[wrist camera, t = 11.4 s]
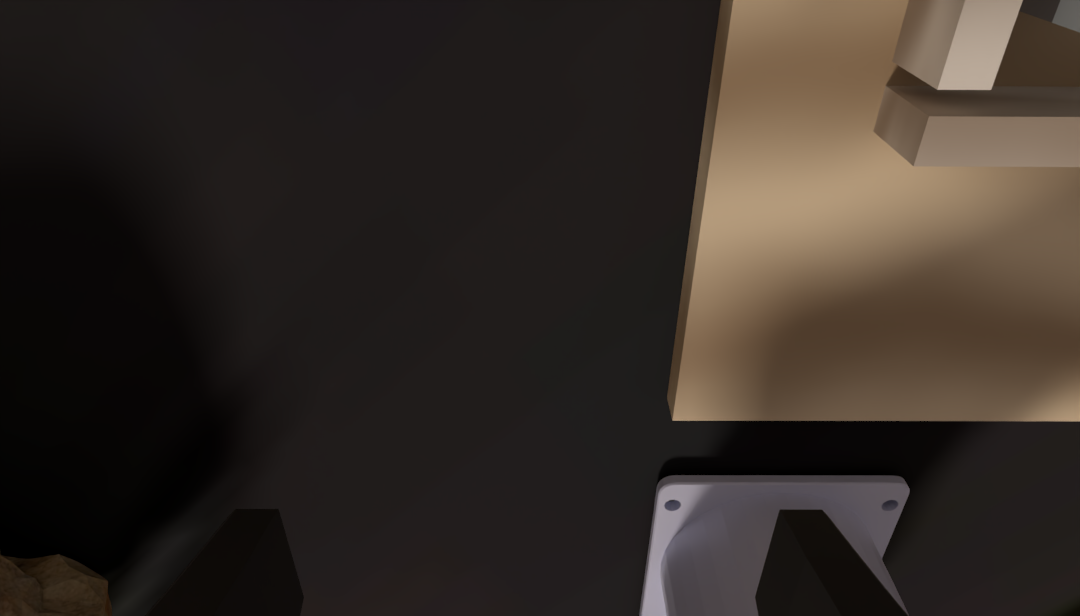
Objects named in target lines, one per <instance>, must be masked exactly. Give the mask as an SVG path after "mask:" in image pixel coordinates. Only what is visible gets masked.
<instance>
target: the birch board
mask: <svg viewBox="0 0 1080 616" xmlns="http://www.w3.org/2000/svg"><path fill="white" fill-rule="evenodd" d="M1022 1H1023V0H721V5H720V12H719V19H718V27H717V34H716V41H715V49H714V56H713V63H712V71H711V78H710V86H709V93H708V100H707V108H706V115H705V122H704V130H703V137H702V144H701V152H700V159H699V166H698V174H697V181H696V189H695V196H694V203H693V211H692V218H691V225H690V233H689V240H688V247H687V255H686V262H685V270H684V277H683V284H682V292H681V299H680V306H679V314H678V321H677V328H676V336H675V343H674V350H673V358H672V365H671V373H670V380H669V387H668V395H667V399H668V404H669V408H670V412H671V416H672V421H1080V32H1077V31H1074V30H1071V29H1068V28H1066V27H1063V26H1060V25H1057V24H1054V23H1051V22H1049V21H1046V20H1043V19H1040V18H1037V17H1034V16H1032V15H1029V14H1026V13H1023V12H1020V11H1019V10H1020V7H1021V4H1022Z"/></svg>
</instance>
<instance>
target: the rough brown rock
mask: <svg viewBox="0 0 1080 616" xmlns="http://www.w3.org/2000/svg"><path fill="white" fill-rule="evenodd" d="M0 616H112V606H111V603H110V599H109V596H108V581H107V580H106V579H105V578H104V577H102V576H101V575H99V574H97V573H96V572H94V571H93V570H91V569H89V568H88V567H86V566H85V565H83V564H81V563H79V562H77V561H75V560H73V559H70V558H68V557H65V556H62V555H60V554H56V555H50V556H44V557H39V558H33V559H24V558H15V557H9V556H3V555H1V551H0Z"/></svg>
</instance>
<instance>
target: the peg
mask: <svg viewBox="0 0 1080 616" xmlns="http://www.w3.org/2000/svg"><path fill="white" fill-rule="evenodd" d="M1019 11H1020V12H1023V13H1026V14H1029V15H1032V16H1034V17H1037V18H1040V19H1043V20H1046V21H1049V22H1051V23H1054V24H1057V25H1060V26H1063V27H1066V28H1068V29H1071V30H1074V31H1077V32H1080V0H1023V1H1022V4H1021V7H1020V10H1019Z"/></svg>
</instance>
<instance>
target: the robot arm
mask: <svg viewBox="0 0 1080 616" xmlns="http://www.w3.org/2000/svg"><path fill="white" fill-rule="evenodd" d="M909 492H910V489H909V487H908V485H907V483H906V482H905V480H904V479H903V478H902V477H900V476H894V475H672V476H667V477H665V478H663V479H662V480H660V481H659V483H658V485H657V489H656V497H655V504H654V511H653V518H652V526H651V533H650V540H649V547H648V555H647V562H646V569H645V576H644V584H643V591H642V598H641V605H640V613H639V616H909V615H908V613H907V610H906V608H905V606H904V604H903V602H902V600H901V598H900V596H899V594H898V592H897V590H896V588H895V585H894V583H893V581H892V579H891V577H890V575H889V573H888V571H887V569H886V567H885V565H884V563H883V561H882V557H883V555H884V553H885V550H886V548H887V545H888V543H889V541H890V538H891V536H892V534H893V531H894V529H895V526H896V524H897V522H898V519H899V517H900V515H901V512H902V510H903V507H904V505H905V503H906V500H907V498H908V496H909ZM669 500H674V501H669ZM303 598H304V596H303V593H302V589H301V586H300V583H299V579H298V576H297V572H296V569H295V565H294V562H293V558H292V555H291V551H290V548H289V544H288V541H287V537H286V534H285V530H284V527H283V524H282V520H281V517H280V513H279V510H278V509H236V510H234V511H233V512H232V513H231V514H230V515H229V516H228V517H227V519H226V520H225V521H224V522H223V523H222V525H221V526H220V527H219V528H218V529H217V531H216V532H215V533H214V534H213V536H212V537H211V538H210V539H209V540H208V542H207V543H206V544H205V545H204V546H203V548H202V549H201V550H200V551H199V553H198V554H197V555H196V556H195V557H194V559H193V560H192V561H191V562H190V563H189V565H188V566H187V567H186V568H185V569H184V571H183V572H182V573H181V574H180V575H179V577H178V578H177V579H176V580H175V581H174V582H173V584H172V585H171V586H170V587H169V588H168V590H167V591H166V592H165V593H164V594H163V595H162V597H161V598H160V599H159V600H158V601H157V602H156V604H155V605H154V606H153V607H152V608H151V609H150V610H149V612H148V613H147V614H146V615H145V616H300V613H301V608H302V603H303Z"/></svg>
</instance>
